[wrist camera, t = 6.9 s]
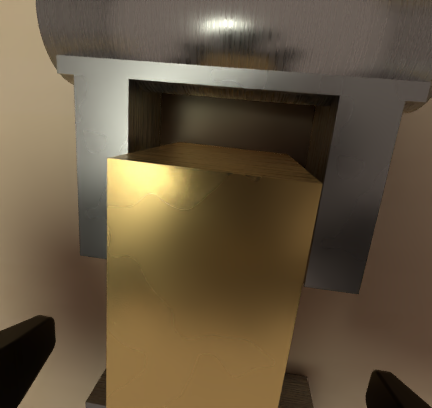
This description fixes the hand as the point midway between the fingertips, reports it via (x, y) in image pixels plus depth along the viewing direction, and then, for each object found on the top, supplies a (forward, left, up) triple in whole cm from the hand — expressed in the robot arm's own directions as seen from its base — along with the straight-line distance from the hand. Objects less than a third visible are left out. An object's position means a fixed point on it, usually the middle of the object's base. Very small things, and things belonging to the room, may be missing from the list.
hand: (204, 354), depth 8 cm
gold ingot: (0, 0, -3) cm, 3 cm away
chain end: (+6, 0, -2) cm, 6 cm away
